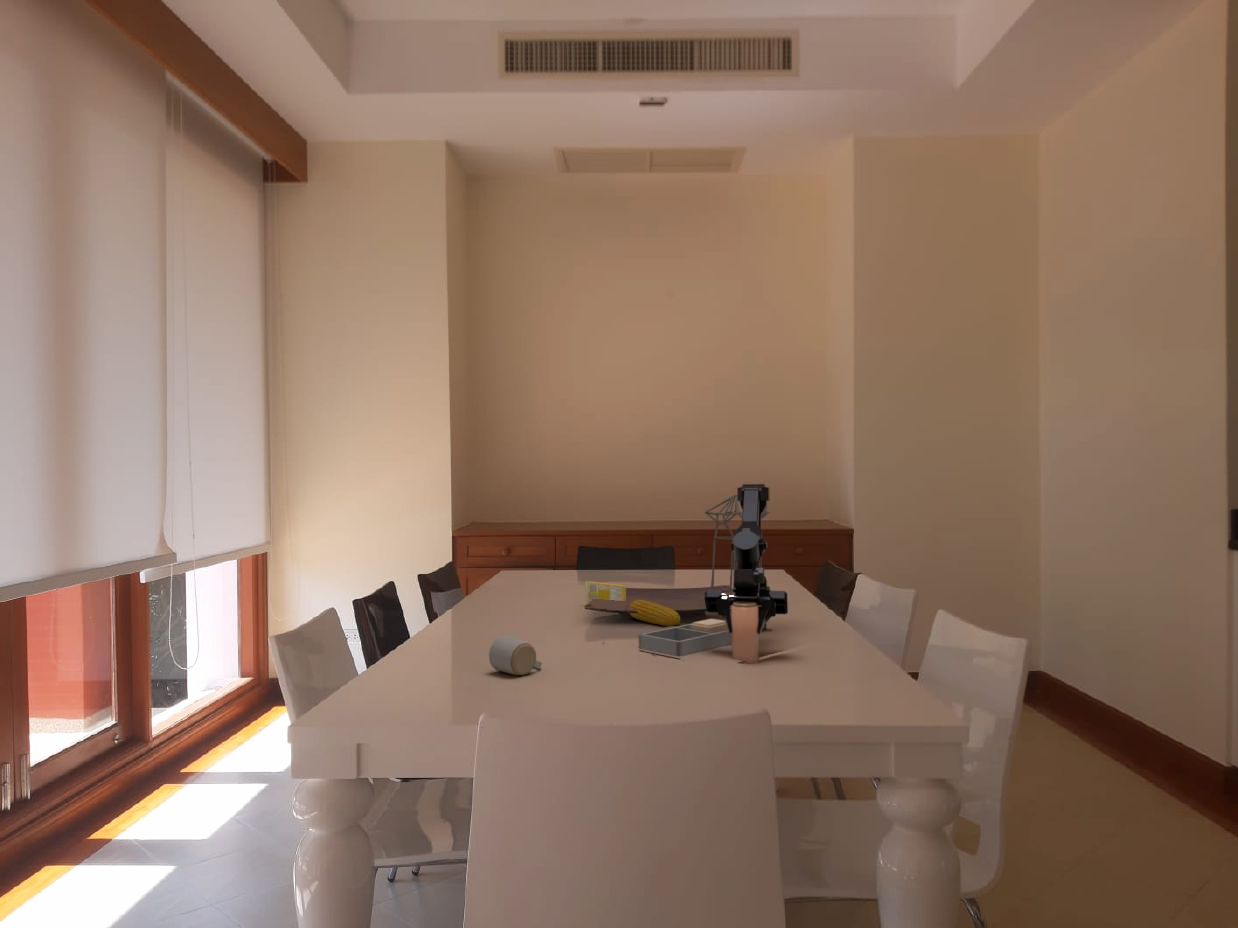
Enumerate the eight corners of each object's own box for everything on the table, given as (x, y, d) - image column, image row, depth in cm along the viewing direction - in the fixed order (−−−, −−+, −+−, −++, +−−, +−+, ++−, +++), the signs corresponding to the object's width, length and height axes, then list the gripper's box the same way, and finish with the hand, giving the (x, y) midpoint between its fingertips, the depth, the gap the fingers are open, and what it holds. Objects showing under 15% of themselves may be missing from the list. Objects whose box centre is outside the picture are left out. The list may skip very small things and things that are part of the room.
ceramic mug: (512, 679, 179) (512, 642, 180) (488, 673, 185) (488, 637, 185) (550, 671, 187) (550, 635, 187) (526, 665, 193) (526, 631, 193)
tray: (707, 635, 222) (707, 620, 222) (747, 642, 213) (747, 626, 213) (638, 651, 205) (638, 634, 205) (679, 659, 196) (678, 641, 196)
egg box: (711, 635, 218) (711, 618, 218) (730, 639, 214) (730, 621, 214) (690, 640, 213) (690, 622, 213) (709, 644, 208) (708, 625, 208)
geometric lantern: (701, 608, 265) (700, 494, 266) (734, 603, 276) (733, 494, 277) (741, 614, 253) (740, 495, 254) (774, 608, 264) (773, 494, 265)
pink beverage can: (743, 656, 198) (742, 599, 198) (764, 660, 194) (763, 602, 194) (726, 660, 194) (725, 603, 194) (747, 664, 190) (747, 605, 190)
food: (626, 619, 248) (625, 599, 248) (641, 617, 251) (641, 597, 251) (672, 630, 231) (672, 608, 231) (688, 628, 234) (688, 606, 234)
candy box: (626, 612, 260) (626, 585, 260) (622, 613, 259) (621, 585, 259) (589, 606, 271) (588, 580, 271) (584, 607, 270) (584, 581, 270)
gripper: (704, 554, 200) (699, 610, 189) (786, 555, 196) (786, 612, 185) (709, 584, 208) (704, 638, 197) (788, 585, 204) (787, 641, 193)
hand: (744, 632), depth 193 cm, fingers closed on pink beverage can, 6 cm apart
